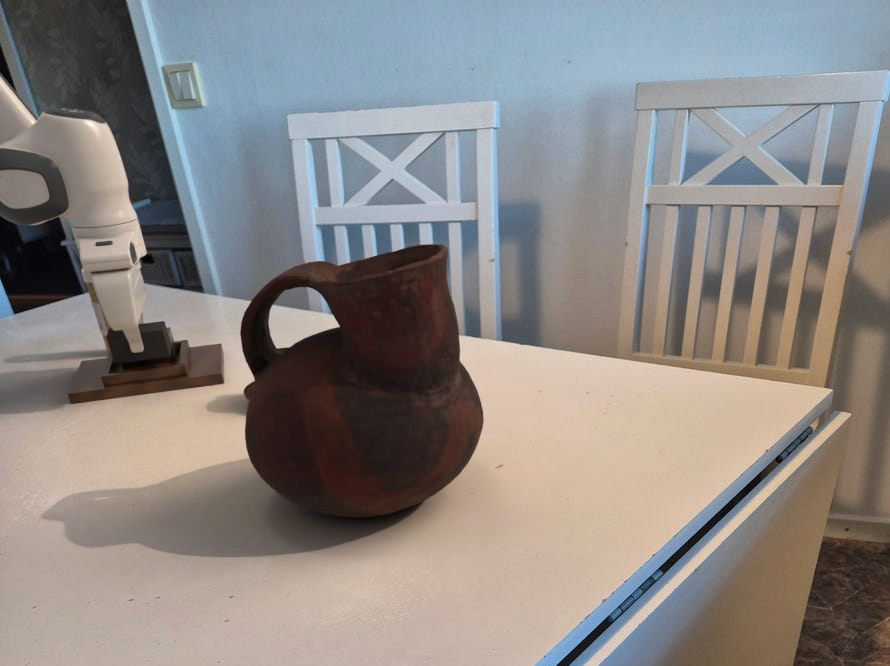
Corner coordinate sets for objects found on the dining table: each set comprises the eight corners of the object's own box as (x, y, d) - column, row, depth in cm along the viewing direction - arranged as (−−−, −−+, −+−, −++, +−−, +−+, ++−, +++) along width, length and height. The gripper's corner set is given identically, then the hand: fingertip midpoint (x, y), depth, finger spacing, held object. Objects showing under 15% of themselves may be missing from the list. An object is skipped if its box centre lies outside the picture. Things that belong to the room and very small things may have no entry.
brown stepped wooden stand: (70, 403, 122) (57, 366, 119) (84, 370, 135) (72, 335, 132) (224, 383, 126) (215, 346, 123) (223, 352, 139) (215, 318, 135)
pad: (114, 364, 123) (105, 336, 121) (117, 354, 127) (109, 327, 125) (170, 357, 125) (162, 329, 122) (171, 347, 129) (164, 320, 126)
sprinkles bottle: (134, 353, 141) (108, 268, 133) (105, 357, 140) (78, 271, 132) (135, 346, 144) (111, 262, 136) (108, 349, 143) (81, 265, 135)
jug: (345, 435, 107) (311, 220, 92) (523, 465, 97) (517, 228, 82) (211, 522, 90) (143, 274, 75) (411, 569, 79) (378, 293, 65)
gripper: (95, 233, 125) (124, 328, 133) (78, 261, 108) (111, 368, 117) (139, 229, 126) (165, 323, 134) (128, 256, 110) (158, 362, 118)
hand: (140, 344), depth 125 cm, fingers closed on pad, 5 cm apart
